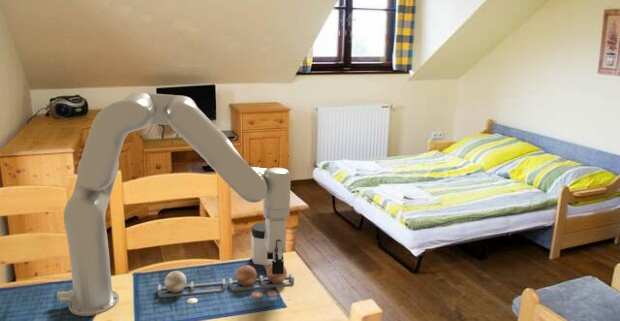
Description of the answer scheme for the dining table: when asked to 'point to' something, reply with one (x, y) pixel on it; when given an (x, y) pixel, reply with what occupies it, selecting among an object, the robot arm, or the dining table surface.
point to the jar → (259, 245)
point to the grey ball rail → (224, 286)
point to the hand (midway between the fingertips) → (275, 265)
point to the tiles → (255, 294)
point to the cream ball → (175, 281)
